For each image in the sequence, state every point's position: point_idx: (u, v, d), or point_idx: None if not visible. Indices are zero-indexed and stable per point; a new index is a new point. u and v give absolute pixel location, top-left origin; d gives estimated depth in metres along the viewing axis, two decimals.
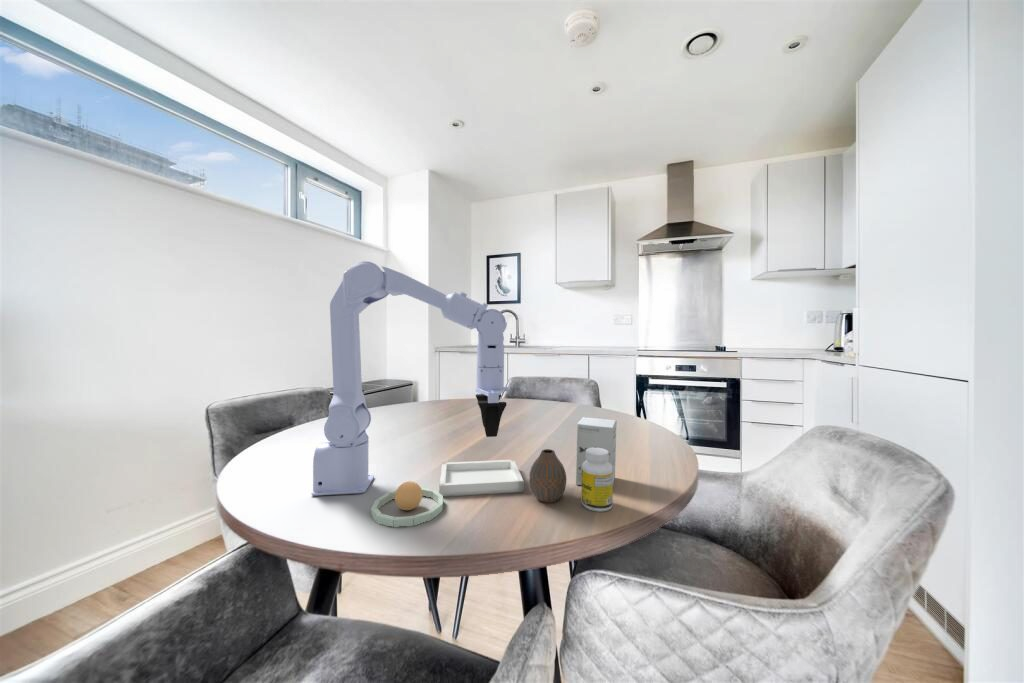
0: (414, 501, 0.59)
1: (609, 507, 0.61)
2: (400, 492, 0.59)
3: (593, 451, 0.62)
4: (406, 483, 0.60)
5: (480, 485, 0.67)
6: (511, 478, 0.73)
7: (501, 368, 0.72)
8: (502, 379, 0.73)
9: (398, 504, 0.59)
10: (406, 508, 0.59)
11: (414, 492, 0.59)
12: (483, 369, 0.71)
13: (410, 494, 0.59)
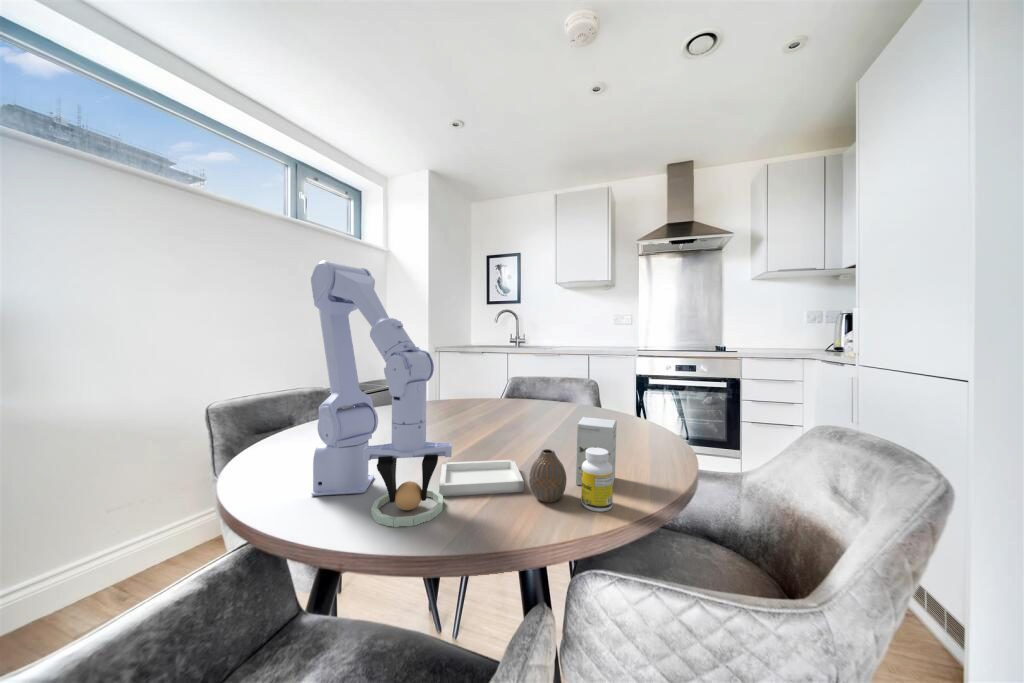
0: (414, 501, 0.59)
1: (609, 507, 0.61)
2: (400, 492, 0.59)
3: (593, 451, 0.62)
4: (406, 483, 0.60)
5: (480, 485, 0.67)
6: (511, 478, 0.73)
7: (395, 425, 0.58)
8: (397, 439, 0.58)
9: (398, 504, 0.59)
10: (406, 508, 0.59)
11: (414, 492, 0.59)
12: None
13: (410, 494, 0.59)
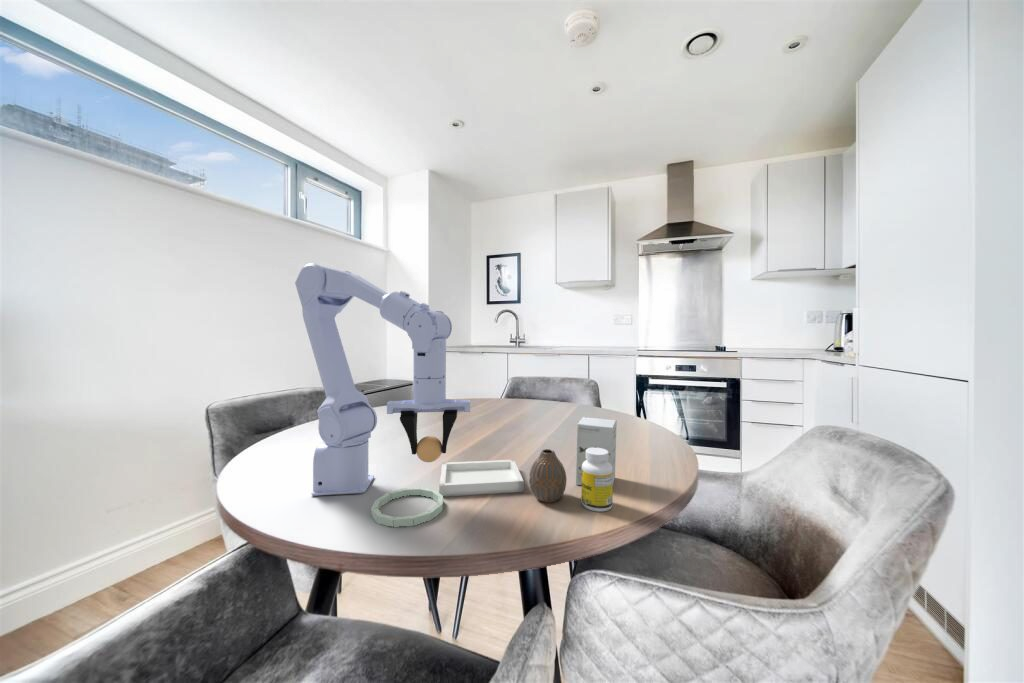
0: (435, 453, 0.62)
1: (609, 507, 0.61)
2: (422, 444, 0.62)
3: (593, 451, 0.62)
4: (427, 437, 0.63)
5: (480, 485, 0.67)
6: (511, 478, 0.73)
7: (417, 379, 0.61)
8: (419, 393, 0.61)
9: (420, 456, 0.62)
10: (427, 459, 0.62)
11: (435, 445, 0.62)
12: None
13: (431, 446, 0.62)
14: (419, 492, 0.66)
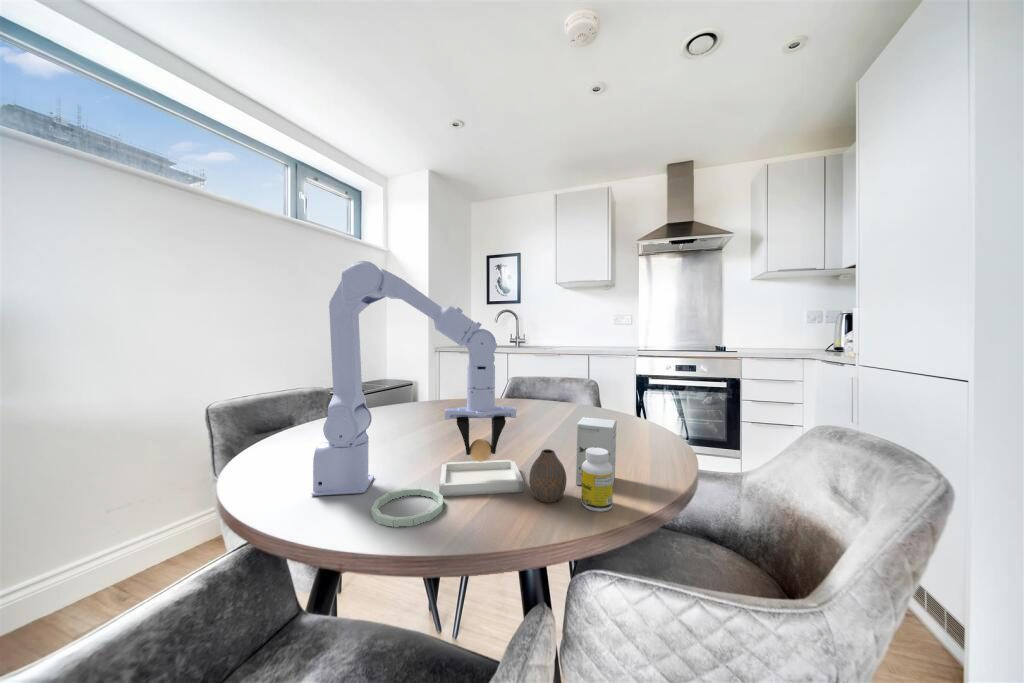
0: (487, 454, 0.71)
1: (609, 507, 0.61)
2: (475, 446, 0.71)
3: (593, 451, 0.62)
4: (479, 439, 0.72)
5: (480, 485, 0.67)
6: (511, 478, 0.73)
7: (472, 390, 0.70)
8: (474, 401, 0.70)
9: (474, 456, 0.71)
10: (480, 459, 0.71)
11: (487, 446, 0.71)
12: None
13: (484, 447, 0.71)
14: (419, 492, 0.66)
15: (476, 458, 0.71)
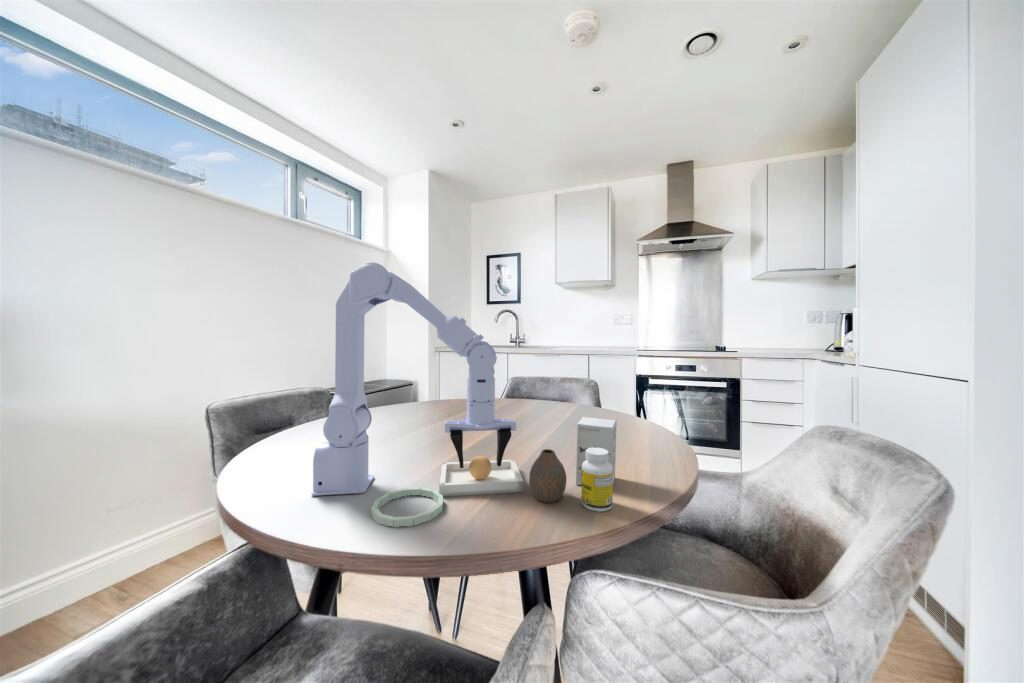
0: (486, 471, 0.71)
1: (609, 507, 0.61)
2: (475, 464, 0.71)
3: (593, 451, 0.62)
4: (478, 457, 0.72)
5: (480, 485, 0.67)
6: (511, 478, 0.73)
7: (472, 403, 0.70)
8: (474, 414, 0.70)
9: (473, 474, 0.71)
10: (480, 477, 0.71)
11: (486, 464, 0.71)
12: None
13: (483, 465, 0.71)
14: (419, 492, 0.66)
15: (476, 476, 0.71)
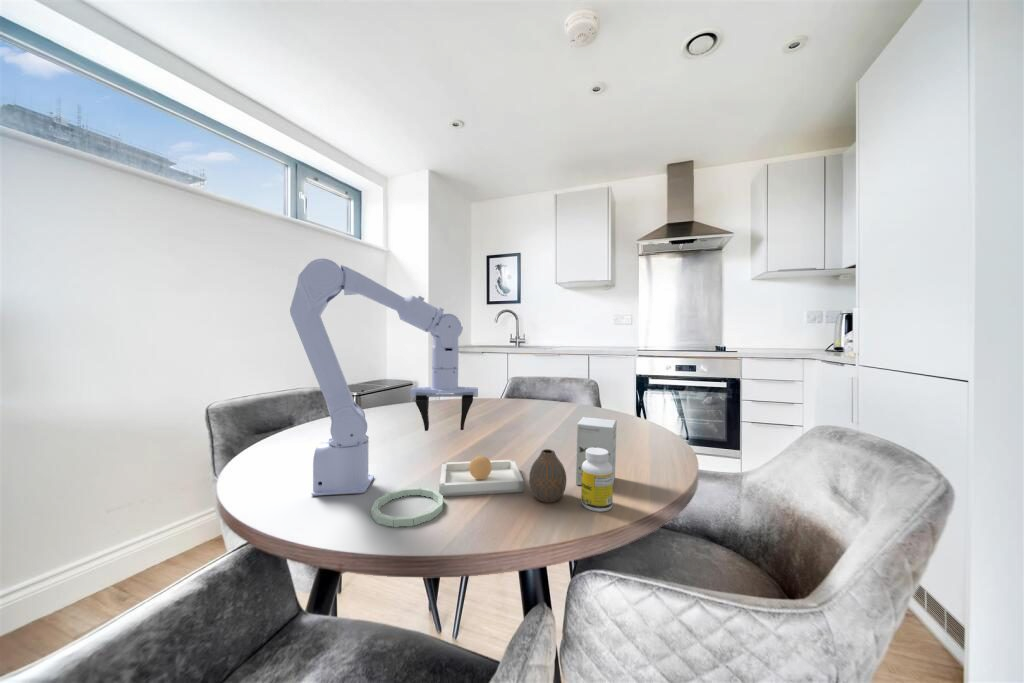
0: (486, 471, 0.71)
1: (609, 507, 0.61)
2: (475, 464, 0.71)
3: (593, 451, 0.62)
4: (478, 457, 0.72)
5: (480, 485, 0.67)
6: (511, 478, 0.73)
7: (435, 370, 0.75)
8: (437, 380, 0.75)
9: (473, 474, 0.71)
10: (480, 477, 0.71)
11: (487, 464, 0.71)
12: None
13: (484, 465, 0.71)
14: (419, 492, 0.66)
15: (476, 476, 0.71)
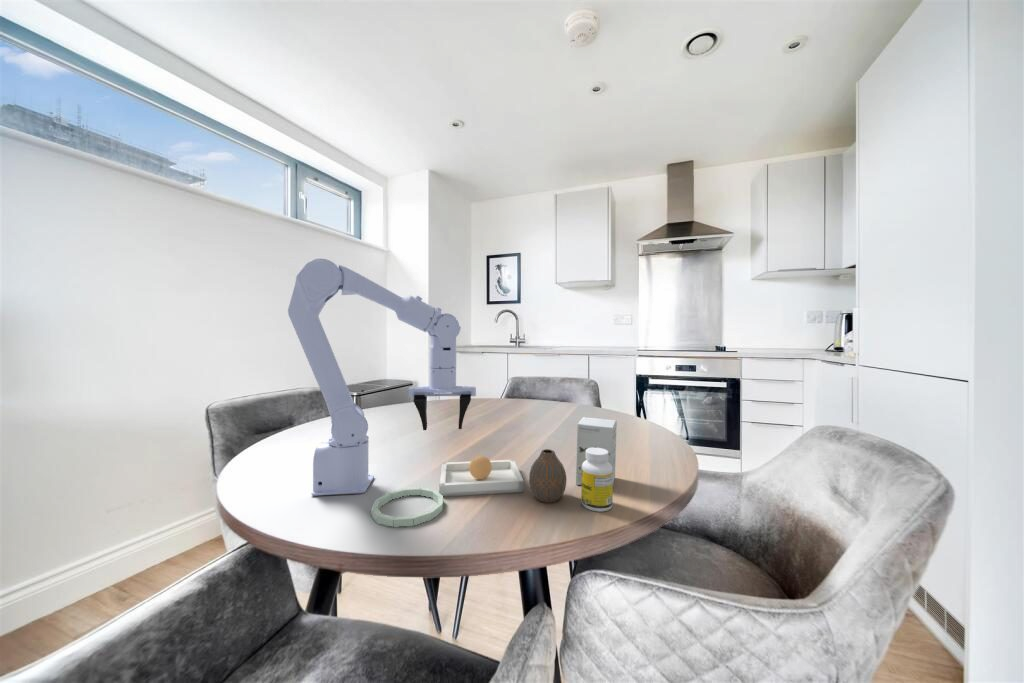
0: (486, 472, 0.71)
1: (609, 507, 0.61)
2: (475, 463, 0.71)
3: (593, 451, 0.62)
4: (479, 457, 0.72)
5: (480, 485, 0.67)
6: (511, 478, 0.73)
7: (433, 369, 0.76)
8: (435, 380, 0.75)
9: (473, 474, 0.71)
10: (480, 477, 0.71)
11: (487, 464, 0.71)
12: None
13: (484, 465, 0.71)
14: (419, 492, 0.66)
15: (476, 476, 0.71)
